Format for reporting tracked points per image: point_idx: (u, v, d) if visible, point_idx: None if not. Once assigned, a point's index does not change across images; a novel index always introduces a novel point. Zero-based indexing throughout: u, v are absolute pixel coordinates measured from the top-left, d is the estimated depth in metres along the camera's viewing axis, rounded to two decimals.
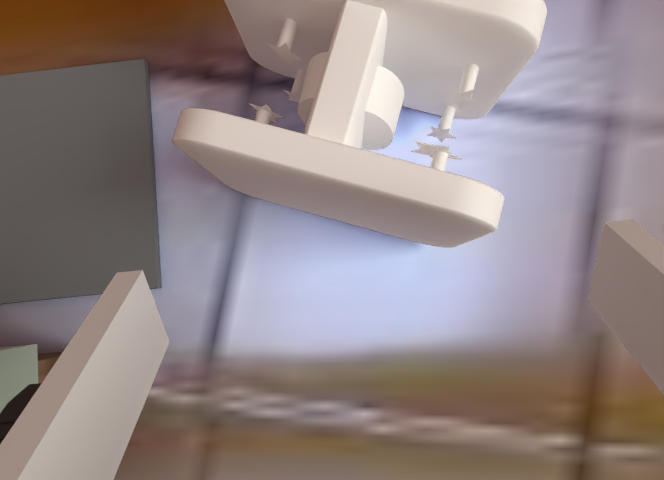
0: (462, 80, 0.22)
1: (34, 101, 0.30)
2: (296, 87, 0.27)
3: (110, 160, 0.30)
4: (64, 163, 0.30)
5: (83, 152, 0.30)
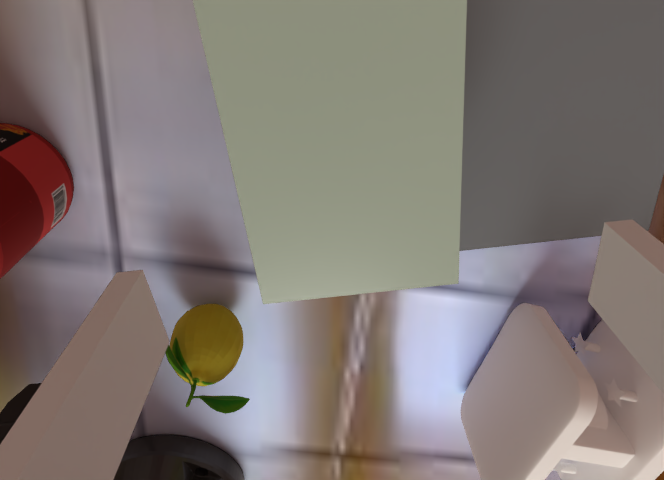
0: (567, 467, 0.39)
1: (643, 140, 0.32)
2: (588, 348, 0.39)
3: (568, 210, 0.35)
4: (575, 172, 0.33)
5: (581, 187, 0.34)
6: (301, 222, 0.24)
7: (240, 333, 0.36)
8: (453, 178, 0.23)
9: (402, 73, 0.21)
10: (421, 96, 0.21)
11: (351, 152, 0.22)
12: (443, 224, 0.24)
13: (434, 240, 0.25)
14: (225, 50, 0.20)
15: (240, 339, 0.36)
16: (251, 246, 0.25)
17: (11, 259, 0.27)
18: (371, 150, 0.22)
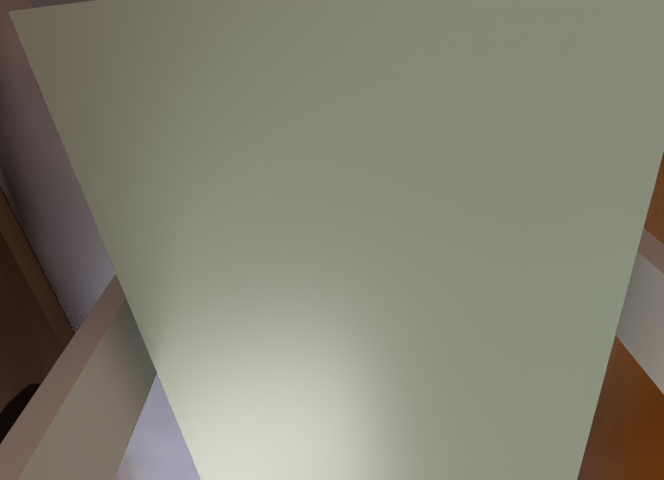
0: None
1: None
2: None
3: None
4: None
5: None
6: (291, 438, 0.13)
7: None
8: (589, 373, 0.12)
9: (515, 194, 0.09)
10: (549, 237, 0.10)
11: (392, 333, 0.11)
12: (556, 439, 0.13)
13: (536, 461, 0.14)
14: (113, 148, 0.09)
15: None
16: (200, 471, 0.13)
17: None
18: (433, 331, 0.11)
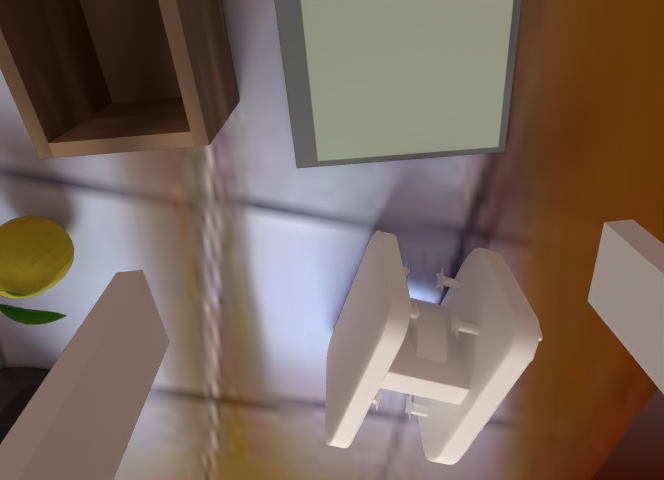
0: (419, 409, 0.37)
1: None
2: (447, 284, 0.37)
3: None
4: None
5: None
6: (359, 74, 0.26)
7: (63, 247, 0.34)
8: (502, 33, 0.25)
9: None
10: None
11: (411, 2, 0.25)
12: (489, 82, 0.27)
13: (480, 99, 0.27)
14: None
15: (61, 253, 0.34)
16: (312, 98, 0.27)
17: None
18: (430, 1, 0.24)
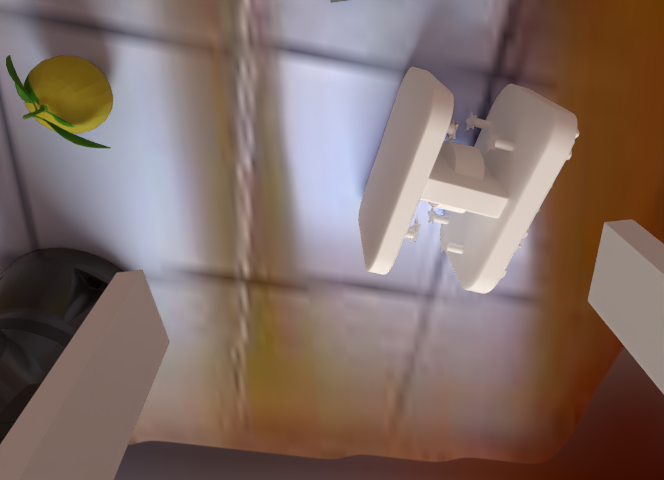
0: (455, 245, 0.38)
1: None
2: (477, 123, 0.38)
3: None
4: None
5: None
6: None
7: (105, 86, 0.35)
8: None
9: None
10: None
11: None
12: None
13: None
14: None
15: (103, 90, 0.34)
16: None
17: None
18: None
